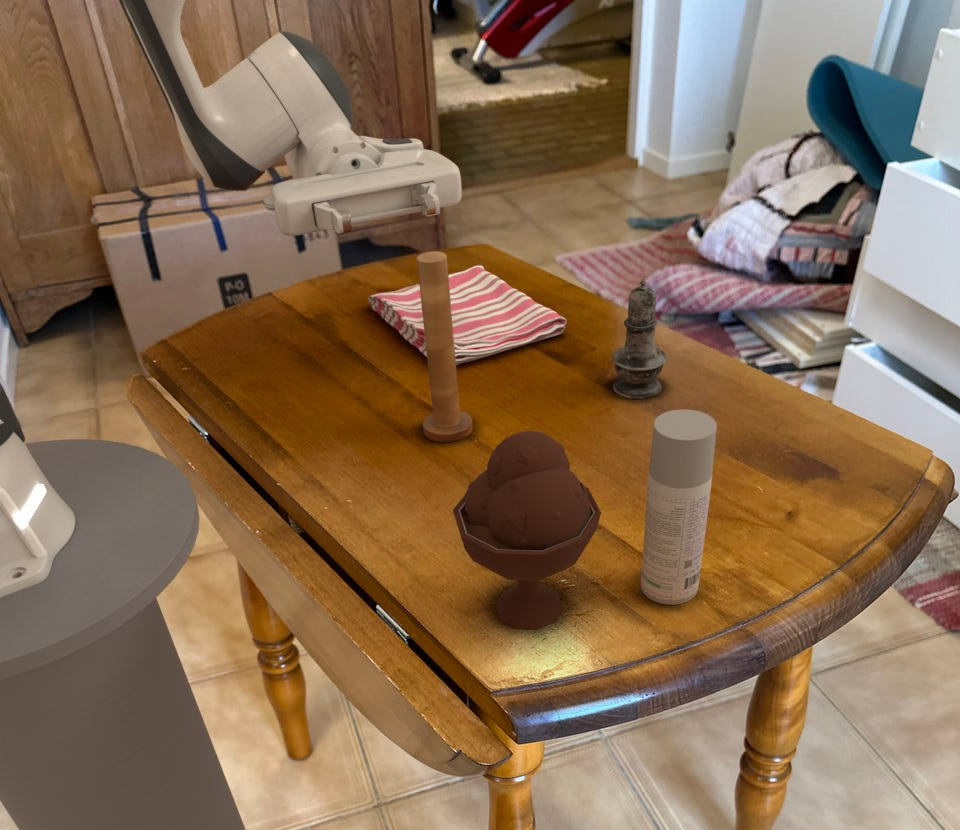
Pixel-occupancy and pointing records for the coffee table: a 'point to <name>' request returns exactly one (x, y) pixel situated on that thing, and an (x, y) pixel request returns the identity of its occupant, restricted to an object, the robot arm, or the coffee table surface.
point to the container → (677, 505)
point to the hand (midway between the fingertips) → (389, 215)
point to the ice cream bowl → (527, 524)
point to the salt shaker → (639, 348)
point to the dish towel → (473, 315)
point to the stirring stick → (440, 351)
